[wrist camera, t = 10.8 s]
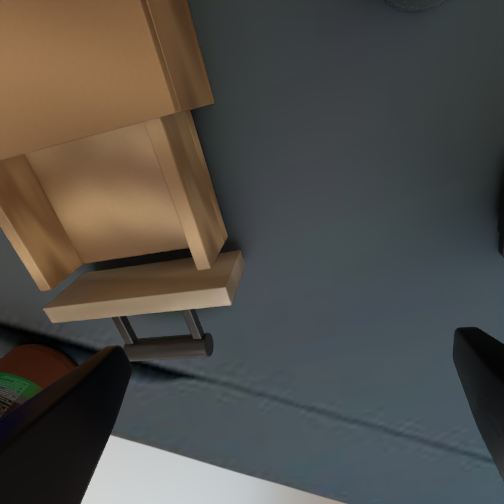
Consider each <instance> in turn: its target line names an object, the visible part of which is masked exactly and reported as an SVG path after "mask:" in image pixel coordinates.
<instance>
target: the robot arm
mask: <svg viewBox="0 0 504 504" xmlns="http://www.w3.org/2000/svg"><path fill="white" fill-rule="evenodd" d="M498 232H499V233H500V234H501V236H500V245H499V253H500V254H501V255H502V256H503V257H504V188H503V189H502V191H501V200H500V210H499V220H498ZM453 360H454V364H455V367H456V370H457V372H458V375H459V378H460V381H461V383H462V386H463V389H464V392H465V394H466V397H467V400H468V403H469V405H470V408H471V411H472V414H473V416H474V419H475V422H476V424H477V427H478V429H479V431H480V433H481V436H482V438H483V440H484V442H485V444H486V446H487V448H488V450H489V452H490V454H491V456H492V458H493V460H494V462H495V464H496V466H497V468H498V470H499V473H500V475H501V477H502V479H503V481H504V344H503V343H501V342H500V341H498V340H496V339H495V338H493V337H492V336H490V335H488V334H487V333H485V332H484V331H482V330H480V329H479V328H476V327H460V328H457V329H456V330H455V333H454V344H453ZM131 373H132V365H131V363H130V361H129V359H128V357H127V355H126V353H125V351H124V349H123V348H122V347H121V346H118V345H117V346H107V347H105V348H104V349H102V350H101V351H99V352H98V353H96V354H95V355H93V356H92V357H90V358H89V359H87V360H86V361H84V362H83V363H82V364H80V365H79V366H77V367H76V368H74V369H73V370H71V371H70V372H68V373H67V374H65V375H64V376H62V377H61V378H60V379H58V380H57V381H55V382H54V383H52V384H51V385H49V386H48V387H46V388H45V389H43V390H42V391H40V392H39V393H38V394H36V395H35V396H33V397H32V398H30V399H29V400H27V401H26V402H24V403H23V404H21V405H20V406H18V407H17V408H16V409H14V410H13V411H11V412H10V413H8V414H7V415H5V416H4V417H2V418H1V419H0V504H81V501H82V499H83V497H84V495H85V492H86V490H87V488H88V485H89V483H90V481H91V478H92V476H93V474H94V471H95V469H96V467H97V464H98V462H99V460H100V457H101V455H102V453H103V450H104V448H105V445H106V443H107V441H108V438H109V436H110V434H111V432H112V429H113V427H114V424H115V422H116V419H117V416H118V413H119V410H120V407H121V404H122V401H123V398H124V395H125V392H126V389H127V386H128V383H129V380H130V376H131Z"/></svg>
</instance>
